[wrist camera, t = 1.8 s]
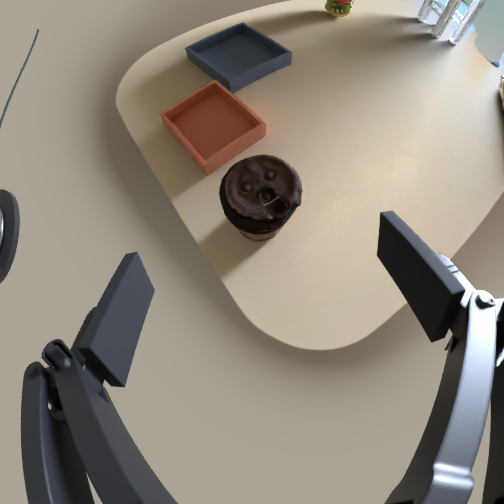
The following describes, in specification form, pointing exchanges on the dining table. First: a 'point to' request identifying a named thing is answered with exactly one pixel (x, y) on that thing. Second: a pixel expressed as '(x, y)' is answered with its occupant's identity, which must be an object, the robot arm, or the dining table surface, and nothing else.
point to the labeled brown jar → (260, 195)
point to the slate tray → (238, 56)
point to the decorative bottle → (502, 89)
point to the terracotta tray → (213, 125)
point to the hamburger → (338, 7)
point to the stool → (448, 14)
